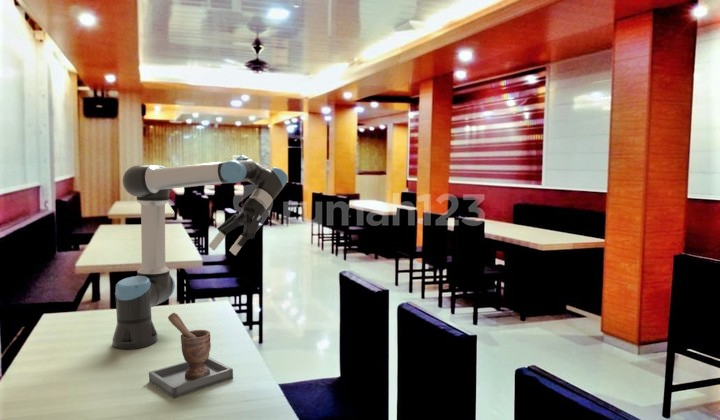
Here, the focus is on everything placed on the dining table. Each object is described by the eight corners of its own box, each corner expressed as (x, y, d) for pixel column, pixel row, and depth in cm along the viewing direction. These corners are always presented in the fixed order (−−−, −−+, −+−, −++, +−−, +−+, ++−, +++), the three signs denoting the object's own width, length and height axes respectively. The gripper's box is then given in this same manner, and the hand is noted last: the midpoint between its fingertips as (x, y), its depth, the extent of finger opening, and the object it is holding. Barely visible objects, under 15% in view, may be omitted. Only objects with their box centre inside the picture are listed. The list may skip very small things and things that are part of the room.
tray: (149, 381, 160) (148, 372, 159) (206, 364, 173) (206, 355, 173) (173, 398, 149) (173, 387, 148) (233, 378, 162) (232, 368, 162)
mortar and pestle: (175, 386, 154) (173, 319, 152) (168, 376, 161) (166, 311, 160) (215, 377, 160) (213, 312, 159) (206, 367, 168) (204, 306, 166)
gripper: (284, 213, 184) (248, 261, 175) (244, 208, 201) (210, 252, 192) (271, 198, 180) (234, 247, 170) (232, 195, 197) (196, 239, 188)
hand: (221, 250), depth 181 cm, fingers open, 13 cm apart
